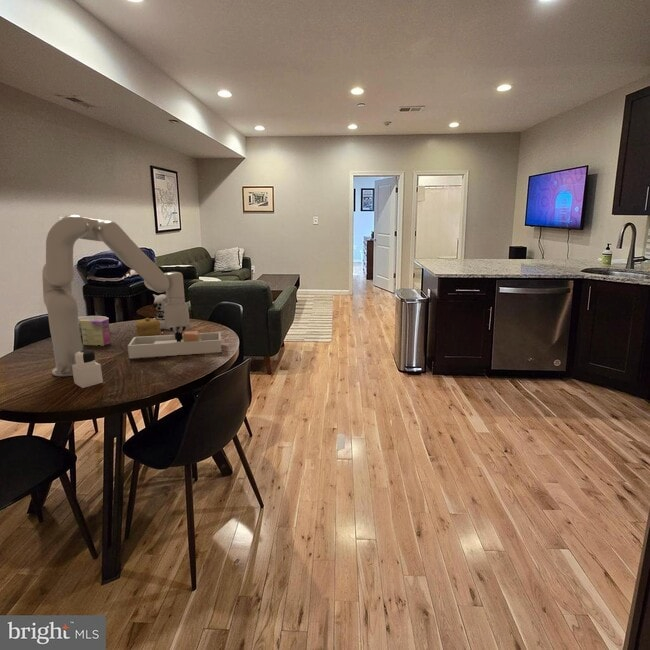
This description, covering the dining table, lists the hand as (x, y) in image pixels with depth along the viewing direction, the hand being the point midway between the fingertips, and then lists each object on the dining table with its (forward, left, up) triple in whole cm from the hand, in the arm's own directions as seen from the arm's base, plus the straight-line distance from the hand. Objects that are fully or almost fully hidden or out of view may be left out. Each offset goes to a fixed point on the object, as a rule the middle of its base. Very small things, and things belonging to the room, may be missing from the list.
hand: (179, 340), depth 188 cm
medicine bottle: (-32, +29, -5) cm, 43 cm away
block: (0, -5, -1) cm, 5 cm away
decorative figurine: (+48, +12, -5) cm, 50 cm away
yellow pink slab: (+40, +49, -5) cm, 63 cm away
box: (+21, +39, -5) cm, 44 cm away
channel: (0, +1, -5) cm, 5 cm away
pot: (+28, +17, -5) cm, 33 cm away
